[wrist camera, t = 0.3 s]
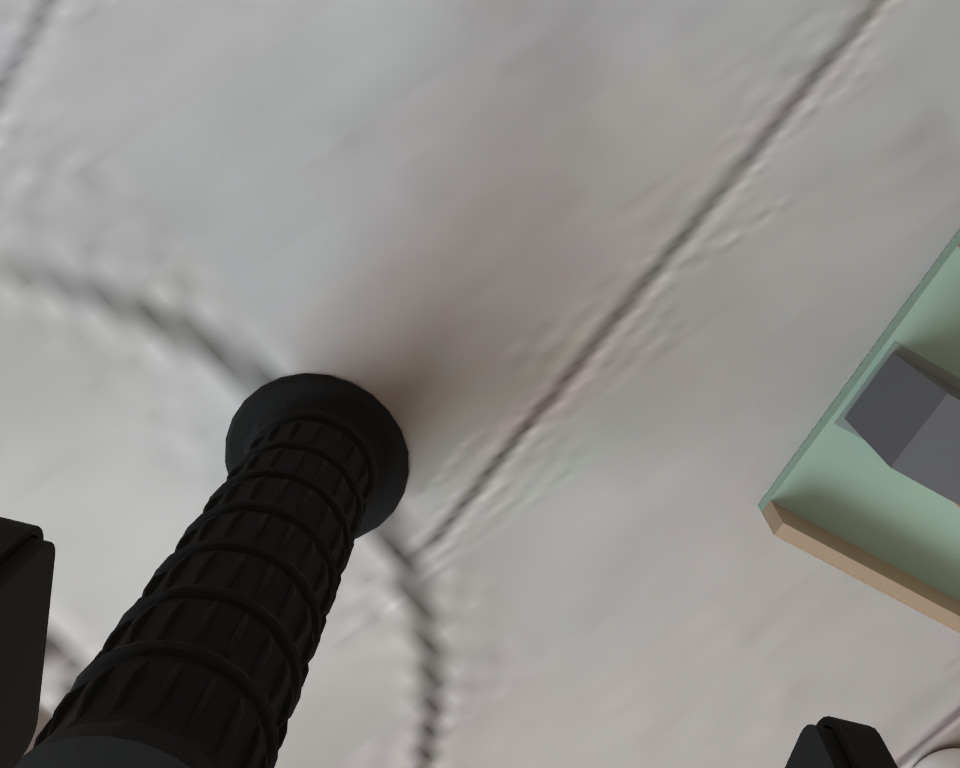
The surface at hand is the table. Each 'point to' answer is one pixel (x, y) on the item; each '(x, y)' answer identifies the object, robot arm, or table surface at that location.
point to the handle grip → (239, 591)
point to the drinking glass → (941, 759)
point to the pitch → (882, 472)
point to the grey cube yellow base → (913, 425)
